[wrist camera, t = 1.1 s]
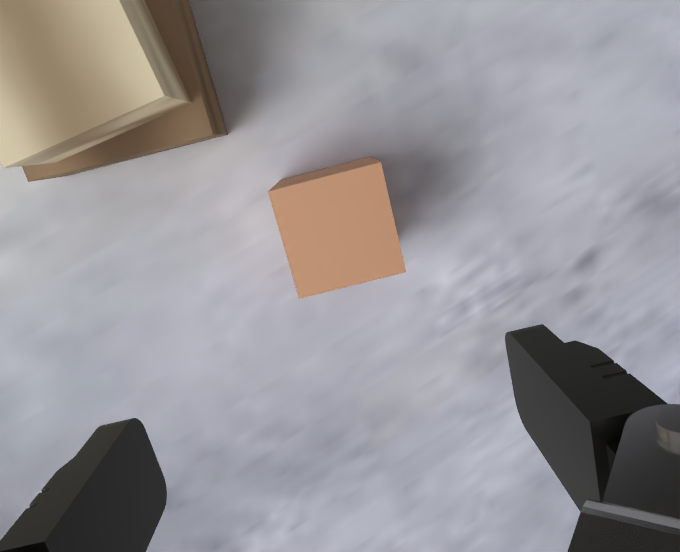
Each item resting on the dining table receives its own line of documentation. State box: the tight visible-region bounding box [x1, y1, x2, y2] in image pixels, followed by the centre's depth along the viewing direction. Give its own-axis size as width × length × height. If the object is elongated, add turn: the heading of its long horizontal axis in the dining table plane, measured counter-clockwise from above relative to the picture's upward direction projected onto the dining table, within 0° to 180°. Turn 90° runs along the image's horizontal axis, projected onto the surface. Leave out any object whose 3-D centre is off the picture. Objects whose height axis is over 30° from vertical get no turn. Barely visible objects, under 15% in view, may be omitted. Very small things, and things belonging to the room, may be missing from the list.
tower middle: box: [0, 0, 191, 168], centre depth 21 cm, size 7×7×4 cm
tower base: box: [22, 0, 228, 182], centre depth 25 cm, size 9×9×4 cm
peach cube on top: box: [268, 157, 406, 299], centre depth 26 cm, size 5×5×6 cm
